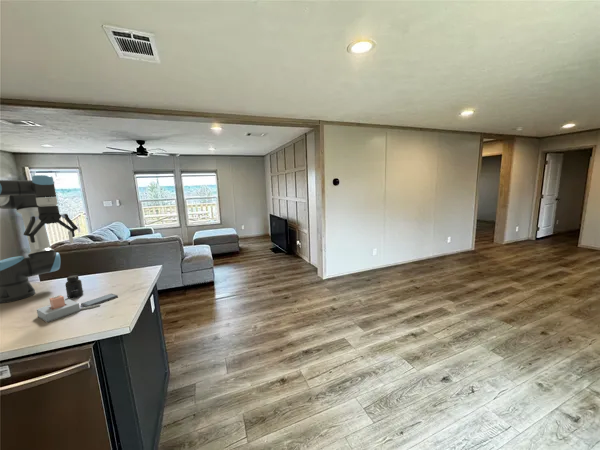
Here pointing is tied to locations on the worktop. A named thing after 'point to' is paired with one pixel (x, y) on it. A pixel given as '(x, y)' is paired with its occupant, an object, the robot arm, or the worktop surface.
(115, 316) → the worktop surface
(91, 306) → the cable
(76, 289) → the supplement bottle
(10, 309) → the worktop surface
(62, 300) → the block
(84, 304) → the phone
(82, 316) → the worktop surface
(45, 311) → the outlet plate
